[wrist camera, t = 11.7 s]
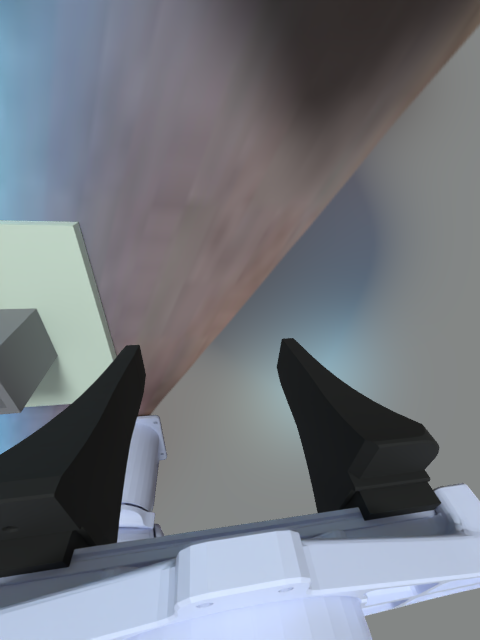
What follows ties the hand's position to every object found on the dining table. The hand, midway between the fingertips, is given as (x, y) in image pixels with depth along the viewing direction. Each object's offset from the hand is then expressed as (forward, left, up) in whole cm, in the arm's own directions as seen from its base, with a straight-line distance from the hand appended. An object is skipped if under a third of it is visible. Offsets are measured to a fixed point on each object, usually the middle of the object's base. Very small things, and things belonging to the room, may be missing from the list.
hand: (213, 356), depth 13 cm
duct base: (-5, +16, -10) cm, 20 cm away
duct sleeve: (-5, +16, -9) cm, 19 cm away
